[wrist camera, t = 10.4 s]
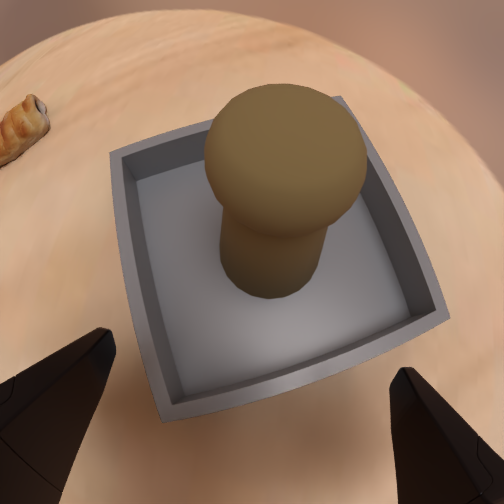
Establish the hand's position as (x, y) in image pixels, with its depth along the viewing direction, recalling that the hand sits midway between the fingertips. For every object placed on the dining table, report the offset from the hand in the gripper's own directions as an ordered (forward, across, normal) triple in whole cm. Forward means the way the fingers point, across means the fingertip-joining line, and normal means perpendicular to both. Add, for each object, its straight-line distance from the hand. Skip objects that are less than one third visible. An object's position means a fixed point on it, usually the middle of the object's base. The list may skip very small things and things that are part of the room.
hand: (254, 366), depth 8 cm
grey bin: (+11, 0, +2) cm, 11 cm away
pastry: (+18, +27, -4) cm, 33 cm away
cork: (+10, 0, +1) cm, 11 cm away
